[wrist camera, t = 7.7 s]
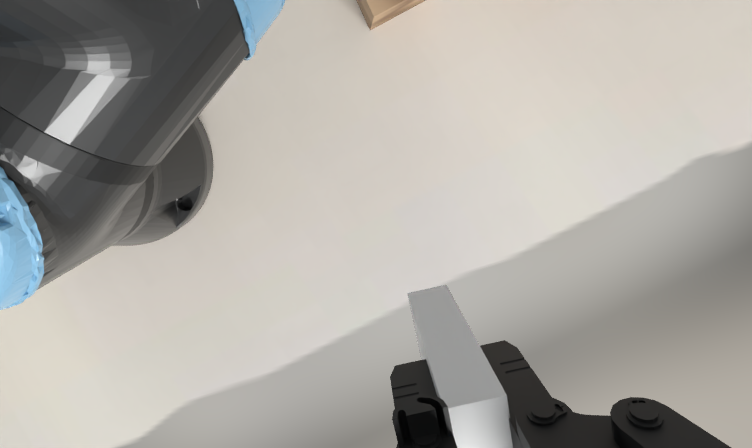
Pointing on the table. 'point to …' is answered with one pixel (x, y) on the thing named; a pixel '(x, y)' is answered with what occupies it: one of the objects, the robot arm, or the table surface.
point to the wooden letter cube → (384, 10)
